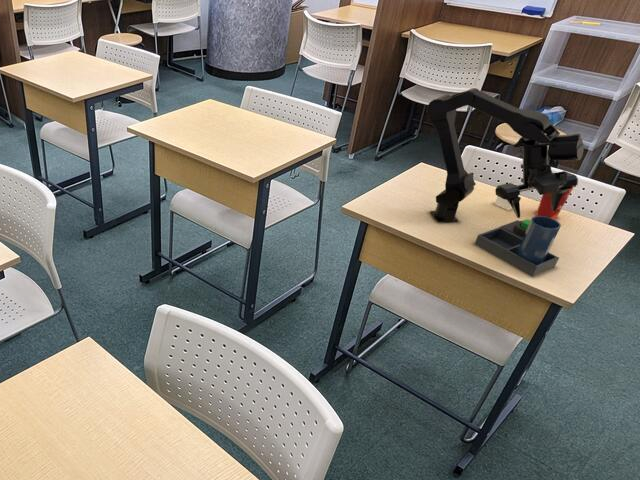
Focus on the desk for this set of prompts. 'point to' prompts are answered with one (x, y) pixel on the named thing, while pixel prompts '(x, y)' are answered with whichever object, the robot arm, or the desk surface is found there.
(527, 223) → the button
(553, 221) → the tumbler
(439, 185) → the desk surface
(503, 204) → the eraser
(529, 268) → the divided tray
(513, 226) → the control block
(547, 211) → the paper cup
